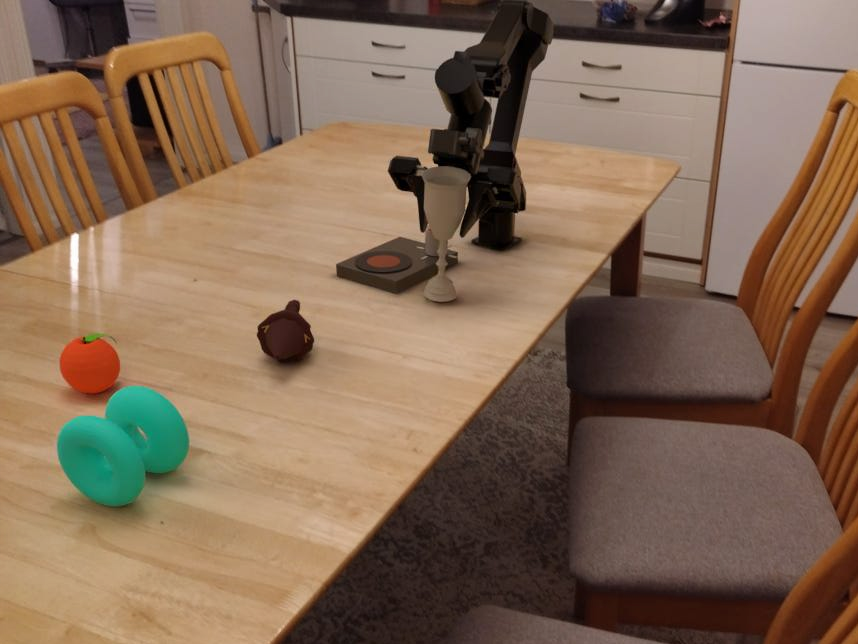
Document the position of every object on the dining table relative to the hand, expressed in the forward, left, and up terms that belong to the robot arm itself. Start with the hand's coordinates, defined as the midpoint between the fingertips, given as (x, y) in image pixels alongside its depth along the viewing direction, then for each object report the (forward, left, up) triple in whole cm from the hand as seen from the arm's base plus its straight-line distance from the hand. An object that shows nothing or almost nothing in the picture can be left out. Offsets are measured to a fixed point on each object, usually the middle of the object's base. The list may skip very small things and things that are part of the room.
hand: (441, 233), depth 142 cm
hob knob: (-13, -10, -9) cm, 19 cm away
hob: (-7, -14, -11) cm, 19 cm away
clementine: (+47, -18, -11) cm, 51 cm away
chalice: (-2, -1, -10) cm, 10 cm away
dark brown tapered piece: (+27, -5, -11) cm, 29 cm away
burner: (-4, -14, -9) cm, 17 cm away
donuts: (+59, +3, -11) cm, 60 cm away
